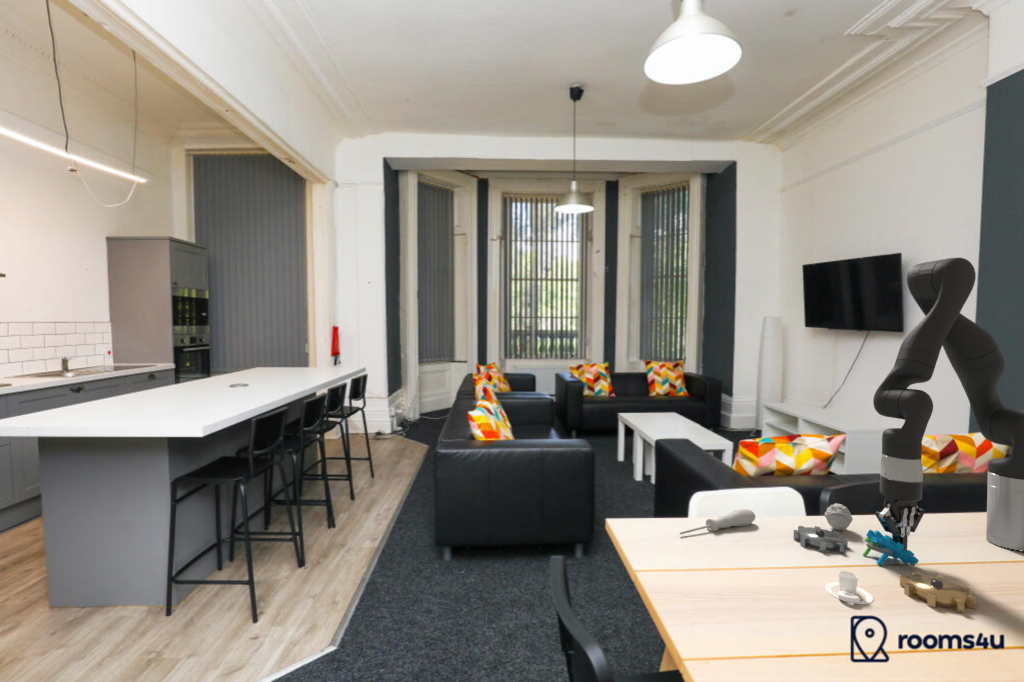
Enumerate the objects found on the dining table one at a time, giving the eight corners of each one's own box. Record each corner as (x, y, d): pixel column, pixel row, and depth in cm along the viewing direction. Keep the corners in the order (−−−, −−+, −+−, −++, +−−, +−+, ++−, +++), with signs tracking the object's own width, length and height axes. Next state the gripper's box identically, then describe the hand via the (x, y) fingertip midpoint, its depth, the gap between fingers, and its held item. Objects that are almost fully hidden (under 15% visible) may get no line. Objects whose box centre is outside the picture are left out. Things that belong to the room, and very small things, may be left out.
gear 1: (816, 530, 126) (816, 519, 126) (858, 549, 115) (859, 537, 115) (783, 536, 122) (783, 524, 122) (824, 556, 112) (824, 543, 112)
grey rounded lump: (824, 531, 125) (825, 505, 125) (824, 522, 131) (824, 497, 131) (853, 537, 122) (853, 509, 122) (851, 527, 128) (851, 501, 128)
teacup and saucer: (856, 612, 90) (857, 590, 90) (813, 591, 97) (813, 571, 97) (881, 600, 94) (882, 579, 94) (838, 581, 101) (839, 562, 101)
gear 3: (906, 575, 103) (906, 561, 103) (979, 597, 94) (979, 582, 94) (894, 594, 95) (894, 579, 95) (971, 620, 87) (972, 603, 87)
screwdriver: (674, 540, 124) (671, 523, 125) (747, 521, 133) (743, 505, 134) (687, 544, 120) (684, 526, 120) (761, 524, 129) (757, 507, 129)
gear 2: (931, 567, 103) (898, 534, 103) (916, 588, 102) (882, 555, 102) (886, 551, 114) (856, 521, 114) (872, 570, 113) (841, 540, 113)
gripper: (903, 468, 115) (901, 540, 115) (863, 473, 111) (862, 548, 111) (939, 477, 108) (938, 554, 108) (898, 483, 104) (896, 563, 104)
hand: (899, 550), depth 110 cm, fingers closed
